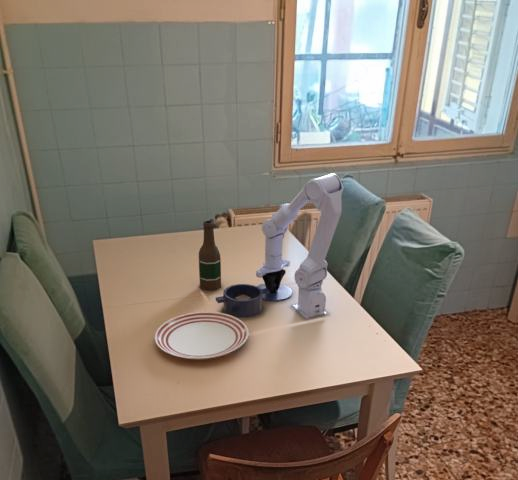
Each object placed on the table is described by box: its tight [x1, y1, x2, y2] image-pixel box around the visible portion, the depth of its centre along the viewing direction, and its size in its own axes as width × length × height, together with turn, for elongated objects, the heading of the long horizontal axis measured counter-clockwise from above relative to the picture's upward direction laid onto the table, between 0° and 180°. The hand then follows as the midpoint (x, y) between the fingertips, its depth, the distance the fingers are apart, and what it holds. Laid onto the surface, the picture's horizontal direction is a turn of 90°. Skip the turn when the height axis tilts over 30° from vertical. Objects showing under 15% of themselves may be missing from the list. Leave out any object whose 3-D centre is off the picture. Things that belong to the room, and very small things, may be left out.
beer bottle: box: [198, 220, 222, 292], centre depth 193 cm, size 8×8×24 cm
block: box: [235, 294, 252, 300], centre depth 184 cm, size 4×4×4 cm
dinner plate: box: [154, 311, 250, 360], centre depth 167 cm, size 27×27×3 cm
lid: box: [256, 281, 293, 303], centre depth 195 cm, size 14×14×5 cm
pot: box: [215, 283, 270, 319], centre depth 184 cm, size 13×18×6 cm
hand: (272, 290), depth 195 cm, fingers closed on lid, 2 cm apart
